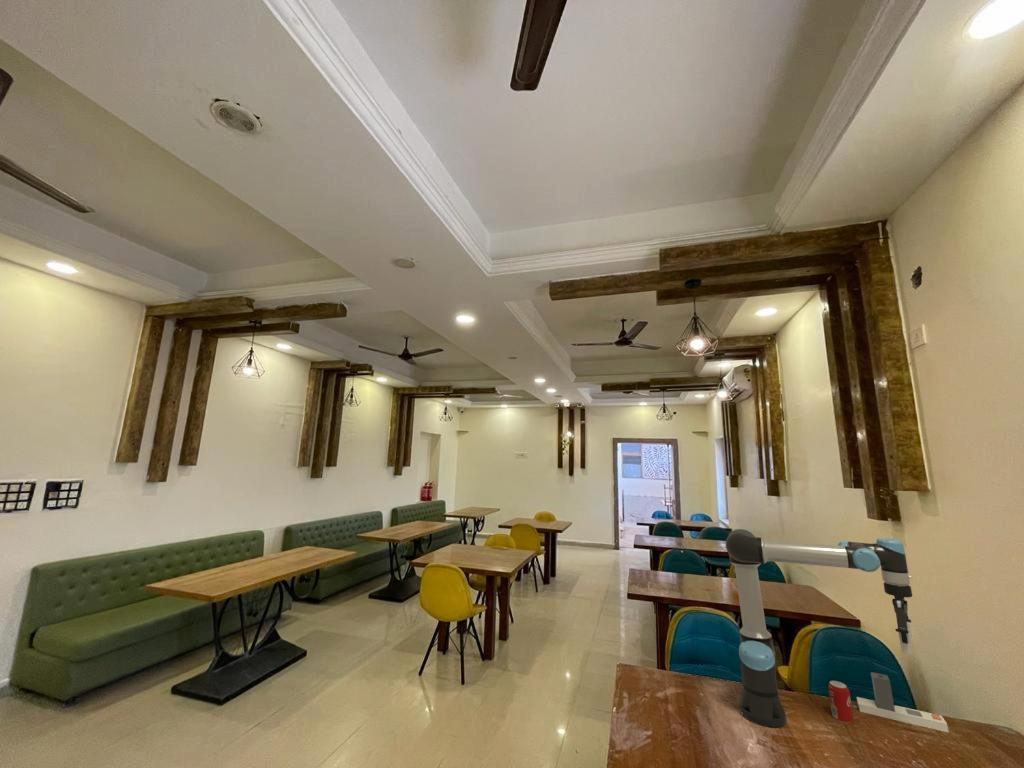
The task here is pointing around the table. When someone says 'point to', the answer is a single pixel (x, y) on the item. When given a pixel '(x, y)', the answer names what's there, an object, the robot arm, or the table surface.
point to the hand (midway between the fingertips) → (907, 647)
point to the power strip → (903, 715)
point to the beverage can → (840, 702)
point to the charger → (882, 691)
